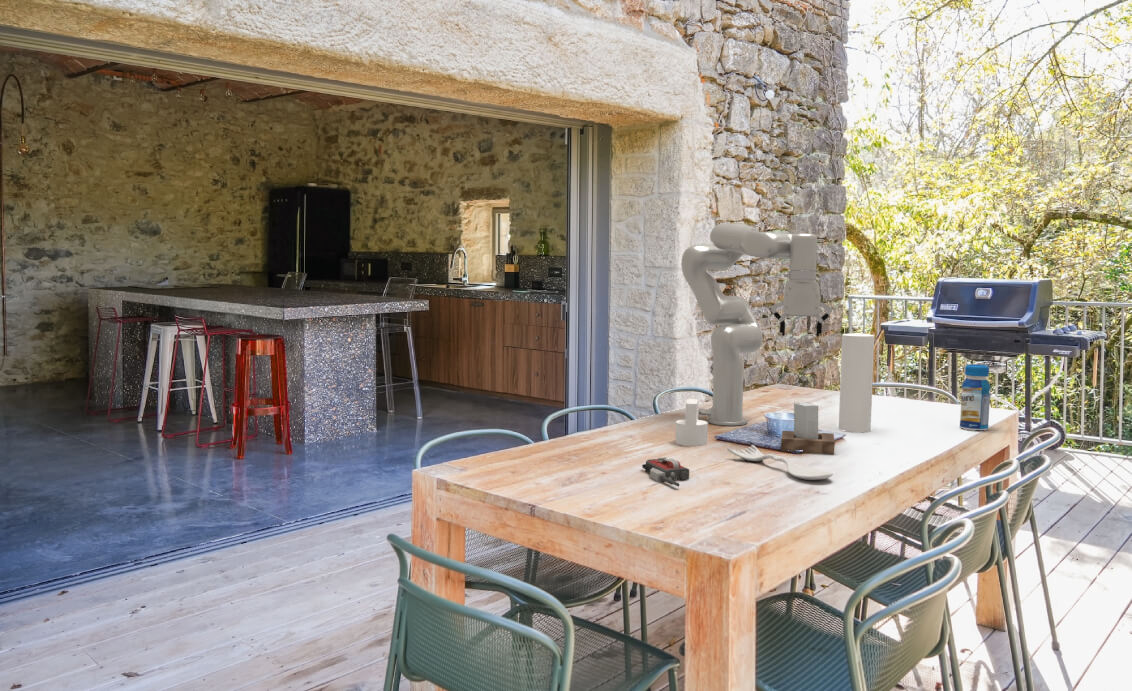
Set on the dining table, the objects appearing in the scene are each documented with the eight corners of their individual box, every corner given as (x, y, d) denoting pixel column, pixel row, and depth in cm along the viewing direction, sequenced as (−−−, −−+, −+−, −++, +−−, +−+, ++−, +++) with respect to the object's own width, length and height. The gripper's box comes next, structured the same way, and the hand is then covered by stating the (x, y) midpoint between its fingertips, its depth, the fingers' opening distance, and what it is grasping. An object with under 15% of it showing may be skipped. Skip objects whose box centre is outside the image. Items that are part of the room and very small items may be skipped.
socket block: (780, 451, 242) (781, 438, 241) (782, 442, 253) (782, 430, 253) (834, 454, 238) (834, 441, 238) (833, 445, 250) (833, 433, 249)
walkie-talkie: (634, 471, 219) (673, 491, 200) (634, 454, 218) (674, 472, 200) (665, 469, 222) (707, 488, 204) (665, 451, 222) (707, 469, 203)
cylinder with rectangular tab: (676, 439, 257) (677, 398, 256) (707, 440, 256) (708, 399, 254) (674, 445, 249) (675, 403, 247) (706, 446, 247) (707, 404, 246)
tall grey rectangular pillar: (874, 432, 269) (878, 334, 266) (843, 432, 269) (847, 334, 266) (864, 427, 278) (868, 332, 275) (834, 426, 278) (838, 331, 275)
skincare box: (818, 448, 244) (820, 405, 242) (804, 449, 242) (806, 405, 241) (806, 444, 249) (807, 401, 248) (792, 445, 248) (793, 402, 247)
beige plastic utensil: (752, 455, 237) (752, 443, 237) (841, 482, 209) (841, 468, 209) (725, 459, 233) (725, 446, 232) (812, 487, 205) (812, 472, 204)
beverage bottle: (993, 431, 272) (997, 367, 270) (966, 431, 272) (969, 367, 270) (981, 426, 281) (984, 364, 279) (954, 426, 281) (957, 363, 279)
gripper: (771, 276, 253) (769, 336, 255) (834, 277, 248) (831, 337, 250) (772, 276, 260) (770, 334, 262) (833, 276, 256) (831, 335, 257)
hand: (800, 335), depth 256 cm, fingers open, 9 cm apart
